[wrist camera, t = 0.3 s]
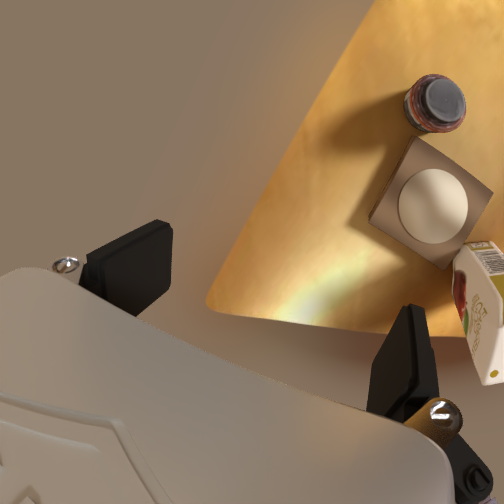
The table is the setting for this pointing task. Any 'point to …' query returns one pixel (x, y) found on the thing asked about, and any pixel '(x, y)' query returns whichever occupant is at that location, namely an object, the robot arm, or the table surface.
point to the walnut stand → (430, 203)
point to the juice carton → (481, 305)
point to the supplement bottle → (435, 104)
